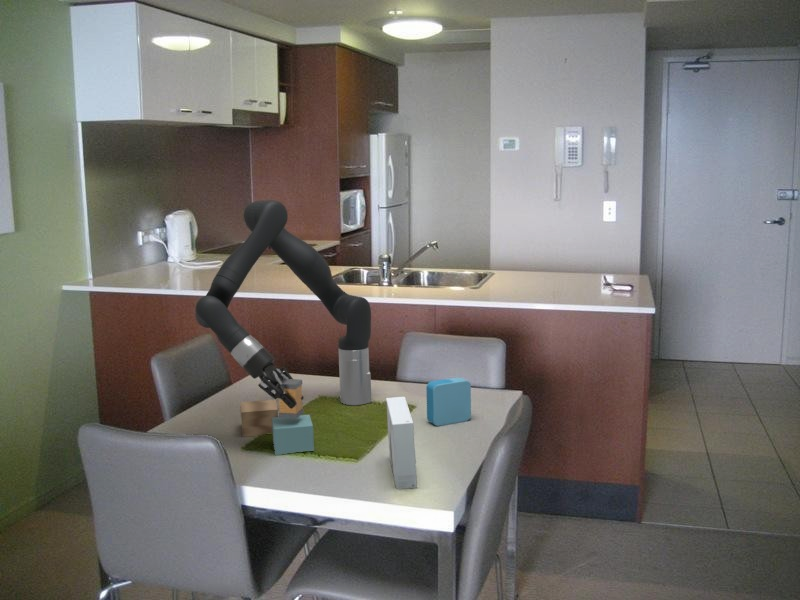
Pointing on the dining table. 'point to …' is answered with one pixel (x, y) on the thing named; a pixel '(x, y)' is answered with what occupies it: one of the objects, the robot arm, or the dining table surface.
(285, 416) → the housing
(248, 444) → the dining table surface
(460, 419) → the blue rounded flat block
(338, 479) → the dining table surface
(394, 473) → the skincare box
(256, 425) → the stand
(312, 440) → the stand
